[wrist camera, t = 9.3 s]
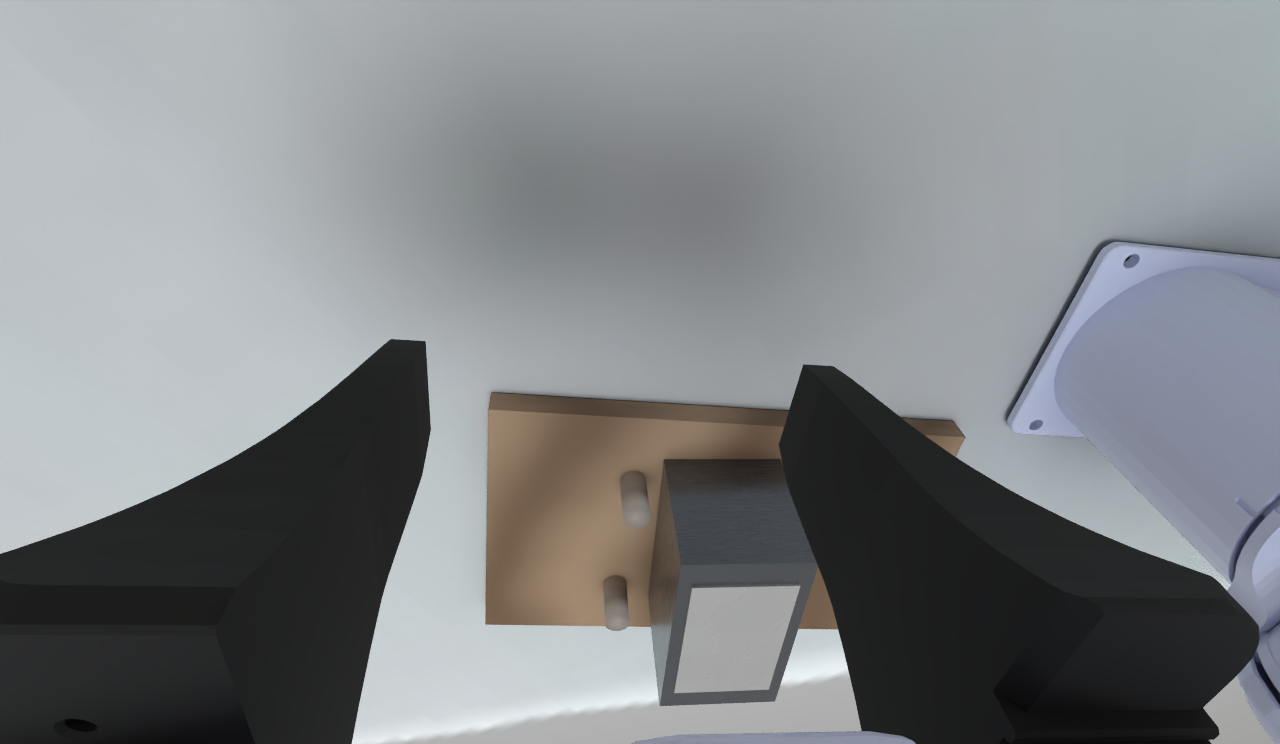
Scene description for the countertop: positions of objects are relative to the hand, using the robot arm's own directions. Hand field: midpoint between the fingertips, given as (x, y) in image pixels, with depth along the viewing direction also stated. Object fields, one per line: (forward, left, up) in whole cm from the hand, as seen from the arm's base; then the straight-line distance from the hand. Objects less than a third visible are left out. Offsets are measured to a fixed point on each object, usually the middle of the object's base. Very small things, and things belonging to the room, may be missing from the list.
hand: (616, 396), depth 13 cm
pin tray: (-6, +13, -10) cm, 17 cm away
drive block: (-6, +13, -9) cm, 16 cm away
